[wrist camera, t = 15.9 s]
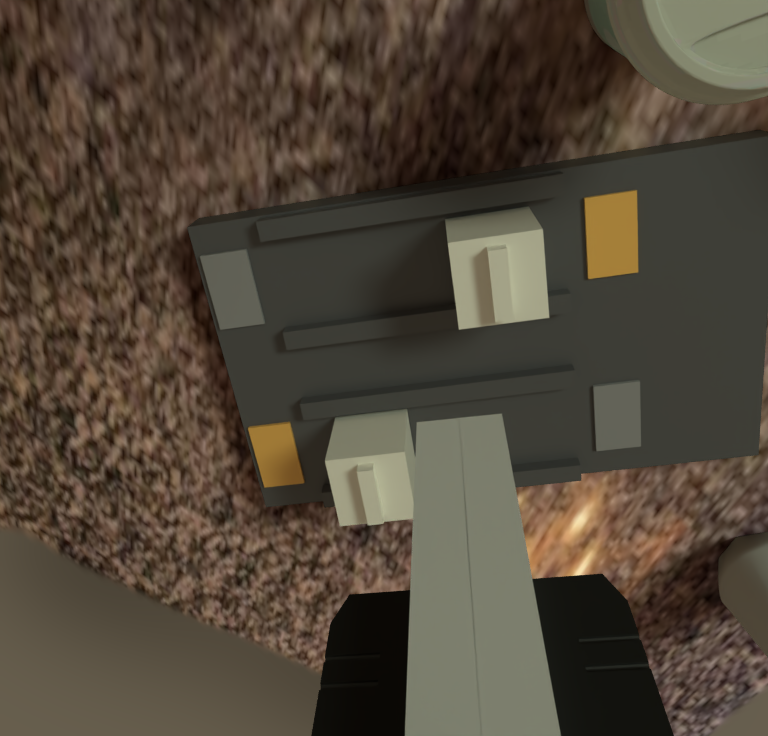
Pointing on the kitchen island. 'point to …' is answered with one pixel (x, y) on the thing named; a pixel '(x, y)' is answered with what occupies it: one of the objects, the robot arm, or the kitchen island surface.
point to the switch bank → (511, 340)
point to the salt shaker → (747, 584)
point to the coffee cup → (690, 45)
